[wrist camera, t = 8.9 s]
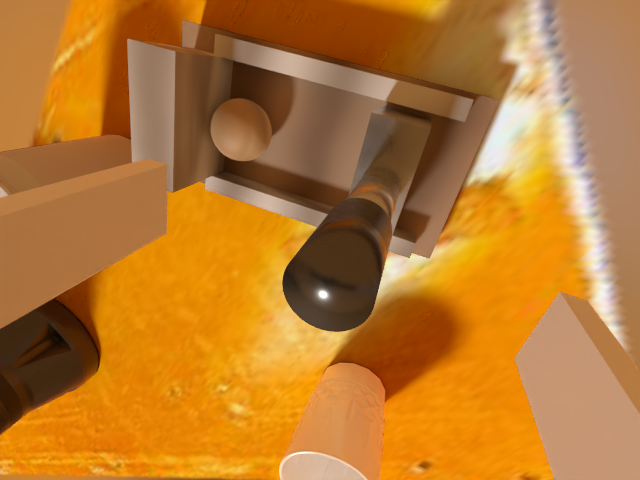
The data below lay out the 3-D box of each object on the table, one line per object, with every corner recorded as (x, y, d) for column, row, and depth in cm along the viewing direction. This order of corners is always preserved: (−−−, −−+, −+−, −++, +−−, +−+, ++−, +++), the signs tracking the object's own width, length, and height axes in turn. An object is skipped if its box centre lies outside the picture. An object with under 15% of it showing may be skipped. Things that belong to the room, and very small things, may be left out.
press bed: (193, 169, 30) (120, 195, 23) (200, 24, 25) (109, 1, 18) (429, 247, 27) (428, 305, 20) (493, 98, 21) (523, 105, 14)
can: (119, 114, 30) (-50, 131, 19) (180, 180, 31) (50, 229, 20) (87, 169, 33) (-70, 208, 23) (142, 226, 34) (16, 289, 24)
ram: (353, 209, 25) (259, 362, 11) (383, 106, 21) (301, 146, 8) (393, 222, 24) (345, 398, 11) (431, 118, 21) (430, 184, 7)
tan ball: (233, 147, 26) (195, 154, 23) (239, 91, 24) (198, 90, 21) (277, 163, 25) (244, 174, 22) (287, 106, 23) (252, 108, 20)
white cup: (336, 343, 33) (302, 435, 25) (407, 386, 33) (398, 495, 24) (304, 388, 37) (265, 481, 28) (367, 426, 37) (347, 533, 28)
